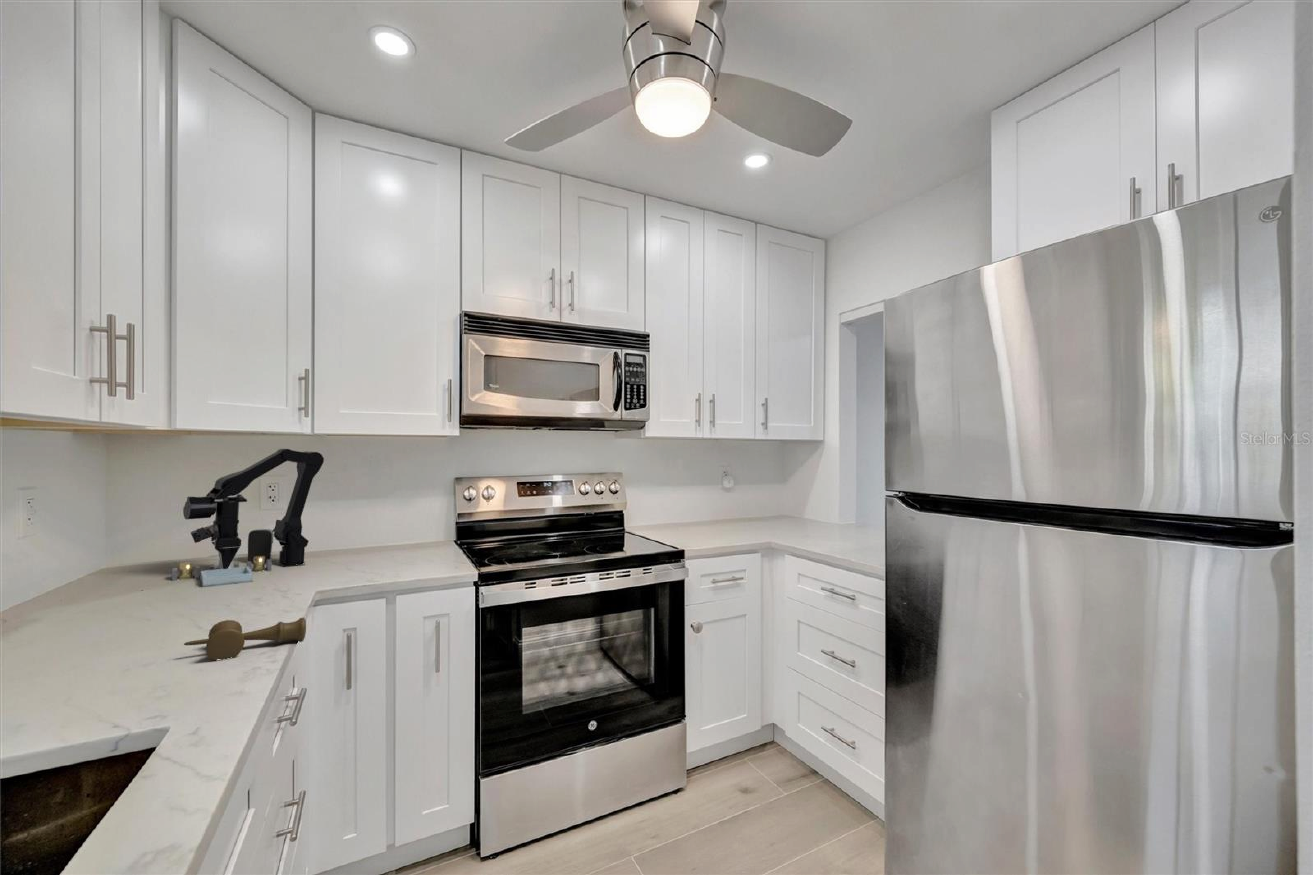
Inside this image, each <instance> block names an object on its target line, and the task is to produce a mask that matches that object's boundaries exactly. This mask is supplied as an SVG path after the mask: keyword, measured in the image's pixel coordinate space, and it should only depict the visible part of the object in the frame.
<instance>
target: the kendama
mask: <svg viewBox="0 0 1313 875" xmlns="http://www.w3.org/2000/svg"><path fill="white" fill-rule="evenodd" d="M306 633H307V622H306V618H305V617H299V619H297V620H294V621H291V622H283V621H279V622H278V623H276V624H274V625H271V626H268V627H265V628H260V629H257V630H253V631H248V632H244V633H243V627H242V625H241V624H240V622H239V621H236V620H233V619H226V620H221V621H219V622H217V623H215V624H214V625H212V627H211V628H210V629H209V633H208V635H207V636H208V638H205V639H204V638H202V639H196V640H191V641H186V642H185V643H183V646H197V645H205V653H206V655H207V656H208V658H209V659H211V660H214V661H216V659H226V660H228V659H227V658H231V657H233V658H235V657H236V656H238V655H239V654H240V653H241V652H242V650H244V646H245V641H273V642H276V643H277V644H281V643H282V642H285V641H298V642H300V643H302V642H304V640H305V638H306ZM231 659H232V658H231Z"/></svg>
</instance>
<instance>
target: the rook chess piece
mask: <svg viewBox="0 0 1313 875" xmlns="http://www.w3.org/2000/svg"><path fill="white" fill-rule="evenodd" d="M217 552H218V551H217ZM219 554H220V556H219ZM218 558H219V561H218V565H217V567H216V568H215V570H216V569H223V564H222V559H221V553H220V552H218ZM228 568H233V567H232V566H231V564H230V566H229V567H228Z"/></svg>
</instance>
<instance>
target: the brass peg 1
mask: <svg viewBox="0 0 1313 875" xmlns="http://www.w3.org/2000/svg"><path fill="white" fill-rule="evenodd" d="M193 568H194V562H193V561H188V562H180V563H179V578H178V579H179V580H188V579H192V578H193V572H194V571H193V570H194V569H193Z"/></svg>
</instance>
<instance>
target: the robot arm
mask: <svg viewBox="0 0 1313 875" xmlns="http://www.w3.org/2000/svg"><path fill="white" fill-rule="evenodd" d="M324 458H325V457H324V456H323V455H322V453H320V452H319V451H297V450H293V449H289V448H279V449H278V450H276V451H275V452H274V453H271V454H270V455H268V456H265V458H263V459H260V461H257V462H255V463H253V464H252V465H249V467H246V468H245V469H243V470H240V471H236V472H233V473H230V474H227V475H225V476H221V477H219V478H217V480H215V483H214V487H212V488H211V490H210V491H209V492H208V493H207V494H206V495H205V496H187V497H186V501H185V503H184V506H183V507H182V508H183V509H182V512H183V513H182V514H183V518H184V519H185V520H198V519H211V517H212V516H214V515H215V517H214V518H215V519H214V520H213V522H212V524H211V525H207V526H205V527H203V526H201V527H200V528H196V529H195V530H192V531H190V536H191V537H192V539H193V542H194V543H195V544H196V543H200V542H202V541H204V540H207V539H209V538H210V541H211V544H212V545H213V546H214V549H215V551H217V552H220V553H221V559H222V564H223V569H228V567H229V566H230V565H231V564H232V562H233V560H234V558H235V557H236V555H237V554H238V551H239V549H240V548H241V546H242V539H241V538H239V533H238V530H239V524H240V520H239V509H240V503H247V502H248V499H246V498H245V497H244V496H243V494H240V493H241V492H243V491H244V490H245V489H247V488H248V487H249V486H250V485H251V484H252V482H253V481H254V480H256V479H258V478H260V477H261V476H263V475H265V474H266V473H269V472H271V471H272V470H274V469H275V468H277V467H279V466H280V465H283V464H284V463H285V462H291V463H295V464H296V472H297V476H296V477H297V478H296V481H295V482H294V487H293V490H292V493H291V497H290V499H289V502H288V506H287V509H286V511H285V515H284V516H283V518H281V519H276V520H275V526H274V528H273V529H272V531H273V538H274V539H275V540H276V541H278V544H279V545H280V546H281V550H280V551H279V557H278V563H279V564H280V566H282V567H290V566H289V565H293V566H297V565H296V564H303V563H305V564H306V562H305V552H306V550H305V549H306V548H307V546H308V544H309V539H307V538H306V537H305V536H304V535H303V534H302V532H303V523H302V515H303V512H304V508H305V506H306V502H307V499H308V496H309V493H310V489H311V486H312V483H313V480H314V478H315V477H316V475H317V474H318V473H319V472H320V470H321V468H322V466H323V464H324V462H325V461H324V460H325V459H324ZM219 556H220V554H219V553H218V557H219Z"/></svg>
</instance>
